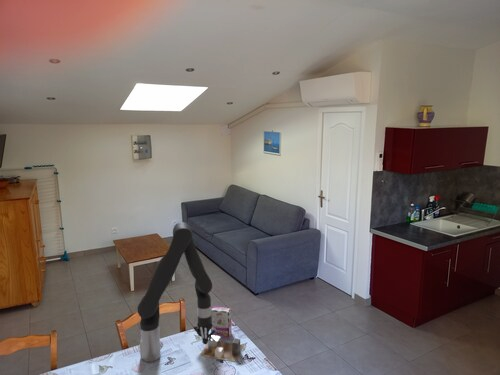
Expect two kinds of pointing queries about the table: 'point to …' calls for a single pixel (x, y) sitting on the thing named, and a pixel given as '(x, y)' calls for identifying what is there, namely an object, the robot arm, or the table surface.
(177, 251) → the robot arm
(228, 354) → the tan rectangular open box
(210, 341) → the cube with orange peg
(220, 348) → the matte white cube
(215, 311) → the candy bar box
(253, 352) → the table surface
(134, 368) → the table surface
